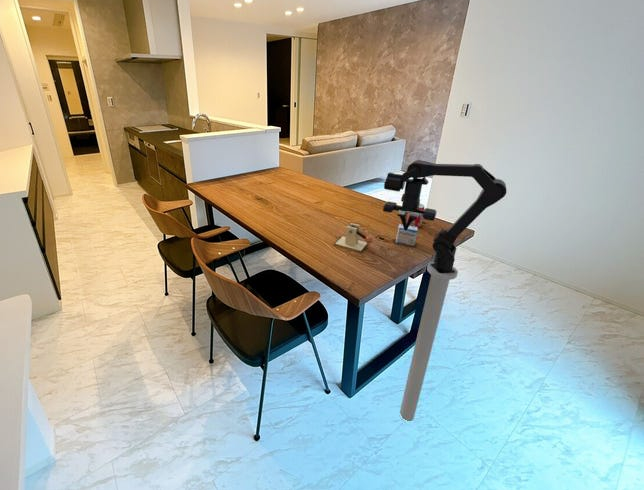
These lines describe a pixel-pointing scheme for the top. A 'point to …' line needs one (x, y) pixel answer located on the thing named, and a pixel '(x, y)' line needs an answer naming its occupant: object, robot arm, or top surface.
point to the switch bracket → (352, 238)
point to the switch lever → (367, 238)
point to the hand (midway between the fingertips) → (405, 230)
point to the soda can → (419, 221)
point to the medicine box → (407, 235)
